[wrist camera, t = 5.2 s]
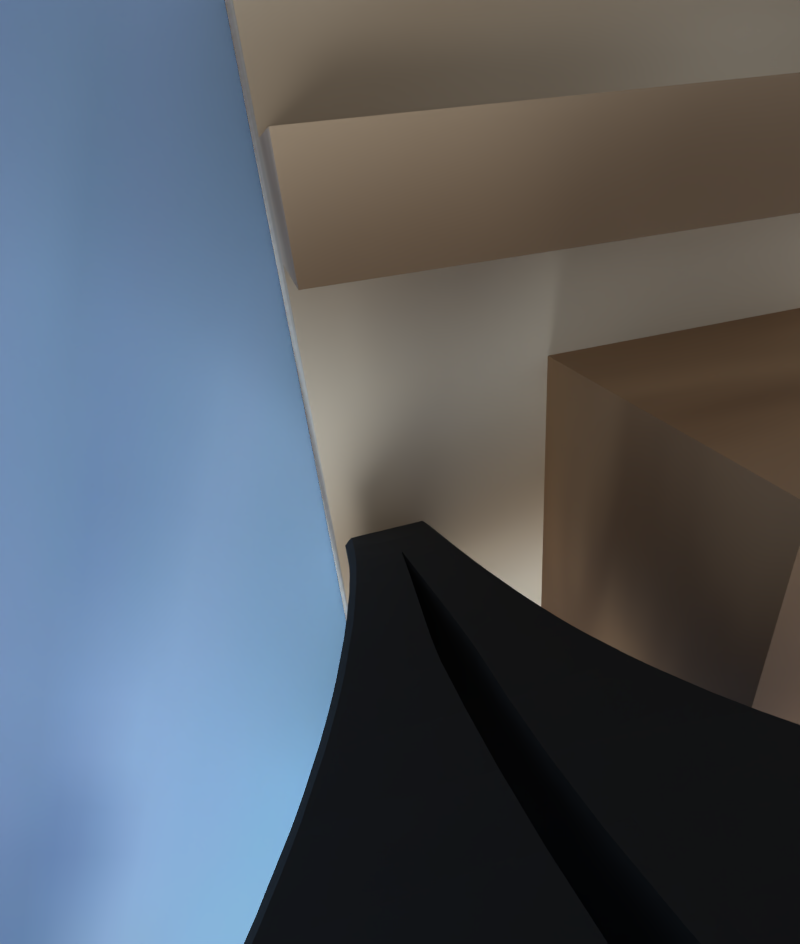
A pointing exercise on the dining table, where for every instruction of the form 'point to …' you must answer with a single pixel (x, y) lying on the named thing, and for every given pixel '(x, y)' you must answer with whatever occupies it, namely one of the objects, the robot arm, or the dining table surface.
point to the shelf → (505, 225)
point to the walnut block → (682, 504)
